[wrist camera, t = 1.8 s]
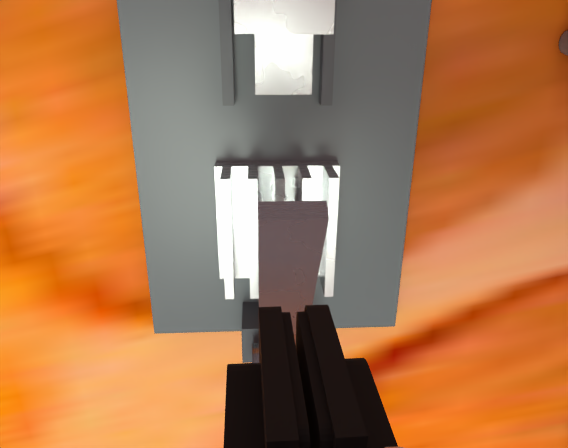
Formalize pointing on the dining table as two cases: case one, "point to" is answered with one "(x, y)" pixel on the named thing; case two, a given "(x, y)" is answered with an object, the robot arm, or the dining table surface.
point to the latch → (283, 40)
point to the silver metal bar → (289, 255)
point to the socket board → (271, 149)
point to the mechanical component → (564, 43)
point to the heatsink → (244, 212)
